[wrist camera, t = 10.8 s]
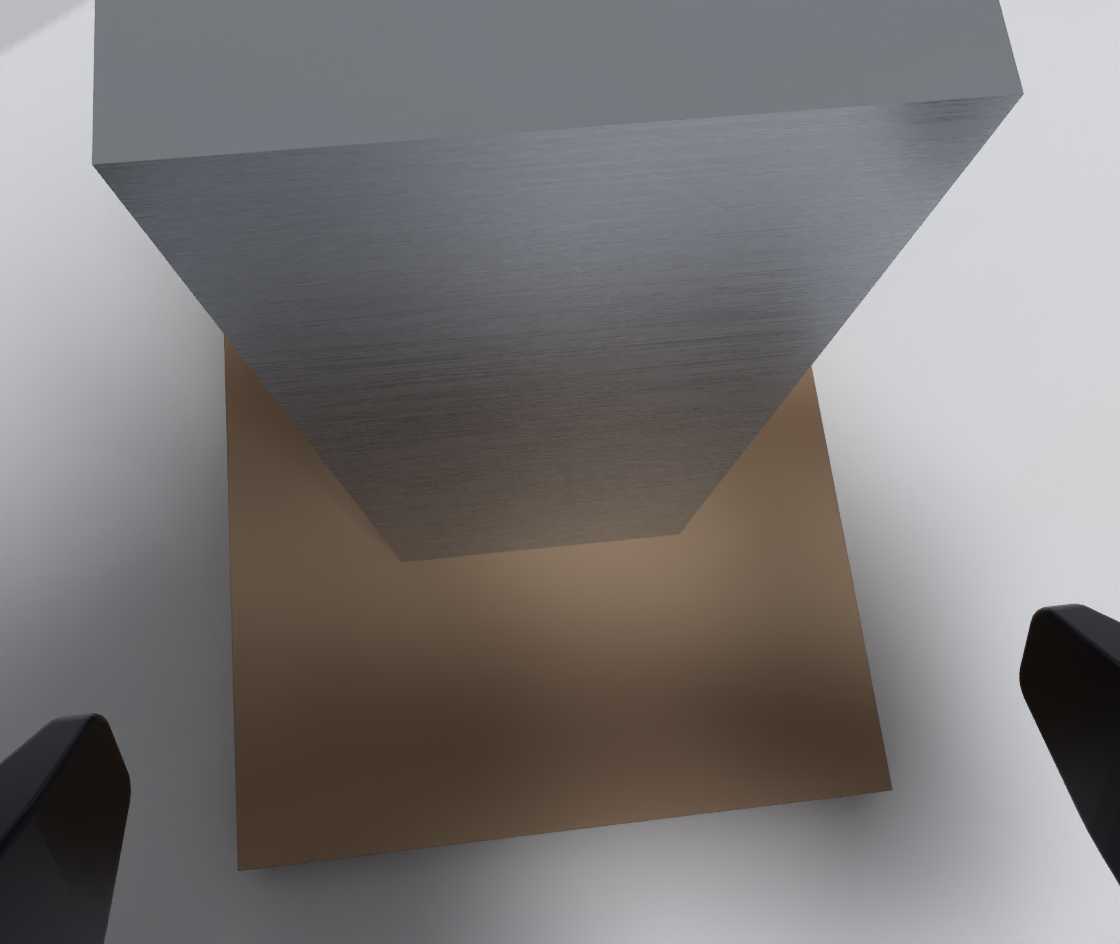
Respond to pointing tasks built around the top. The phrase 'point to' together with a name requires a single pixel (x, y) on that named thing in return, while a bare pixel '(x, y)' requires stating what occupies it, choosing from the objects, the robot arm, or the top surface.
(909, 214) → the jaw
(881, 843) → the top surface
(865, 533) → the top surface
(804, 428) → the plate
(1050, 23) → the top surface
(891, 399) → the top surface
